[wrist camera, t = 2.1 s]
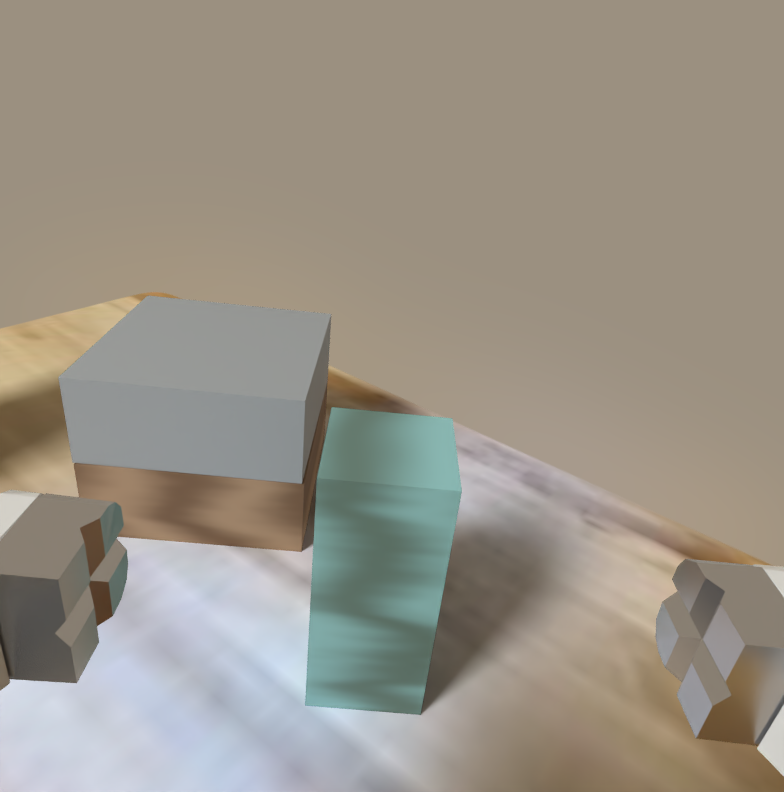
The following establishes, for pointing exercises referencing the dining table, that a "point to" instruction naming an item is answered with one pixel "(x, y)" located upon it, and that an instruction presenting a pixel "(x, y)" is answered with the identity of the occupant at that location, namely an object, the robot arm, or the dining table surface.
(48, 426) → the dining table surface
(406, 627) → the teal block
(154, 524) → the tower base
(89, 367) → the tower top
